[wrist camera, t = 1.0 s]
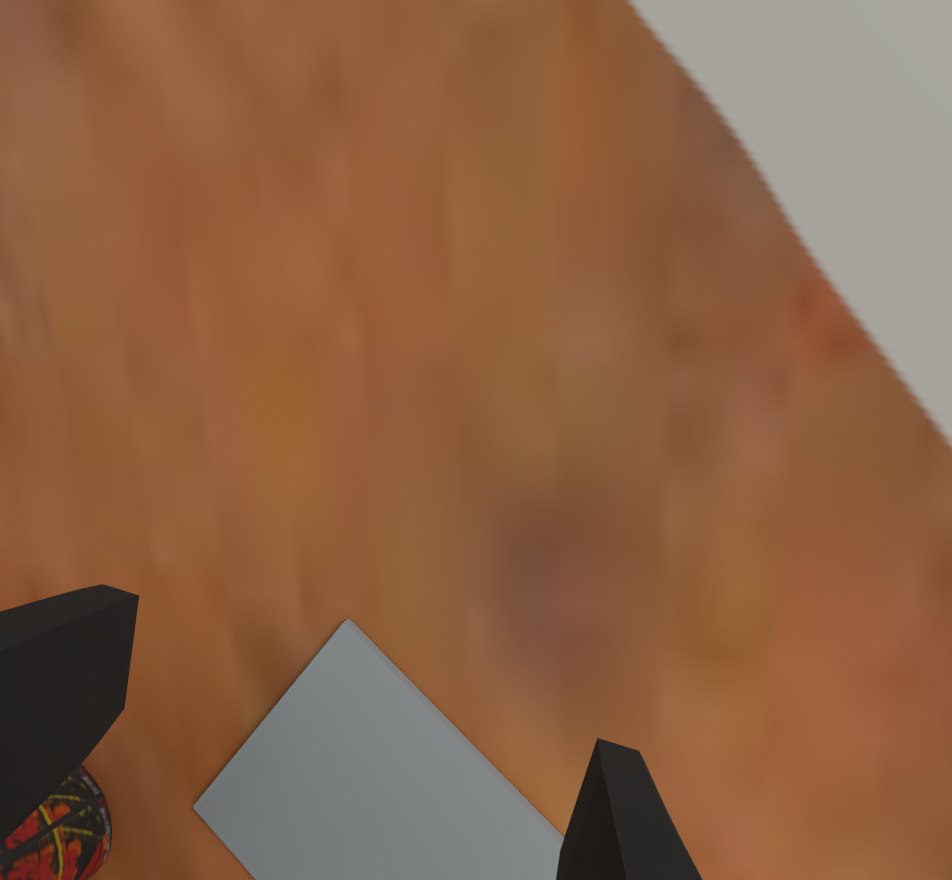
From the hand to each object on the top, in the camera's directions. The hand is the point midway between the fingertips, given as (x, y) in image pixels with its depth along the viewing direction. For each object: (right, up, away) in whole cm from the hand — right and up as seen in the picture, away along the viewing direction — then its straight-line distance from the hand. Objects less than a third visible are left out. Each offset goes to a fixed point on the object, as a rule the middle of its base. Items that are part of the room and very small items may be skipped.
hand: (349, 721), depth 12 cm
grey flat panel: (-1, -11, +18) cm, 21 cm away
